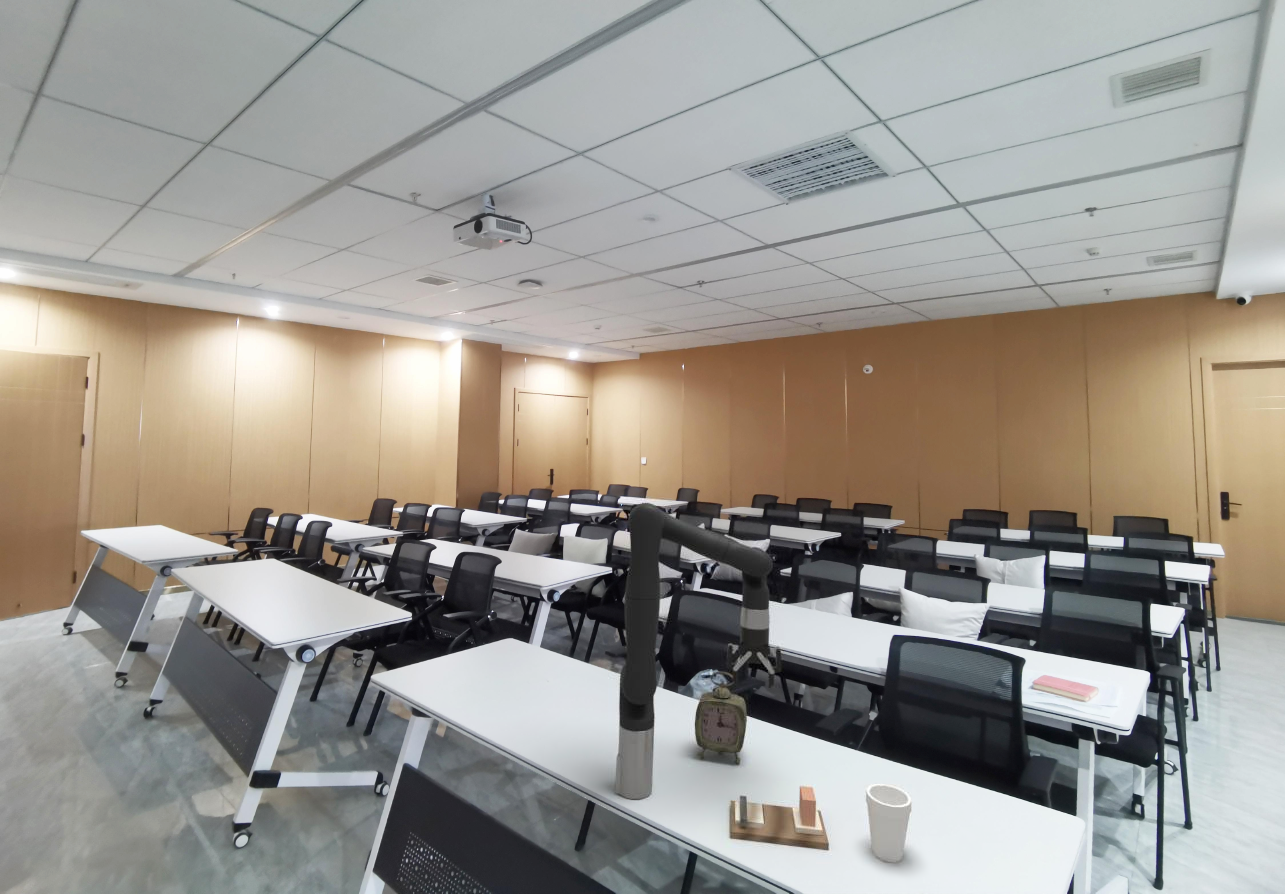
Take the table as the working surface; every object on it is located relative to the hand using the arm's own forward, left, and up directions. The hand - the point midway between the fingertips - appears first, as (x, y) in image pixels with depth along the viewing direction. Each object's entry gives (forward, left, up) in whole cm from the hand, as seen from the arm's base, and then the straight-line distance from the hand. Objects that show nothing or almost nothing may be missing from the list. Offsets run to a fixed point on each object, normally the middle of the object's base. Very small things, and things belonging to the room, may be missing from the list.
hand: (752, 685), depth 161 cm
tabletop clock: (-8, +18, -28) cm, 34 cm away
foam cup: (+30, -19, -28) cm, 45 cm away
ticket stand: (+6, -14, -28) cm, 32 cm away
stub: (+13, -14, -26) cm, 33 cm away
